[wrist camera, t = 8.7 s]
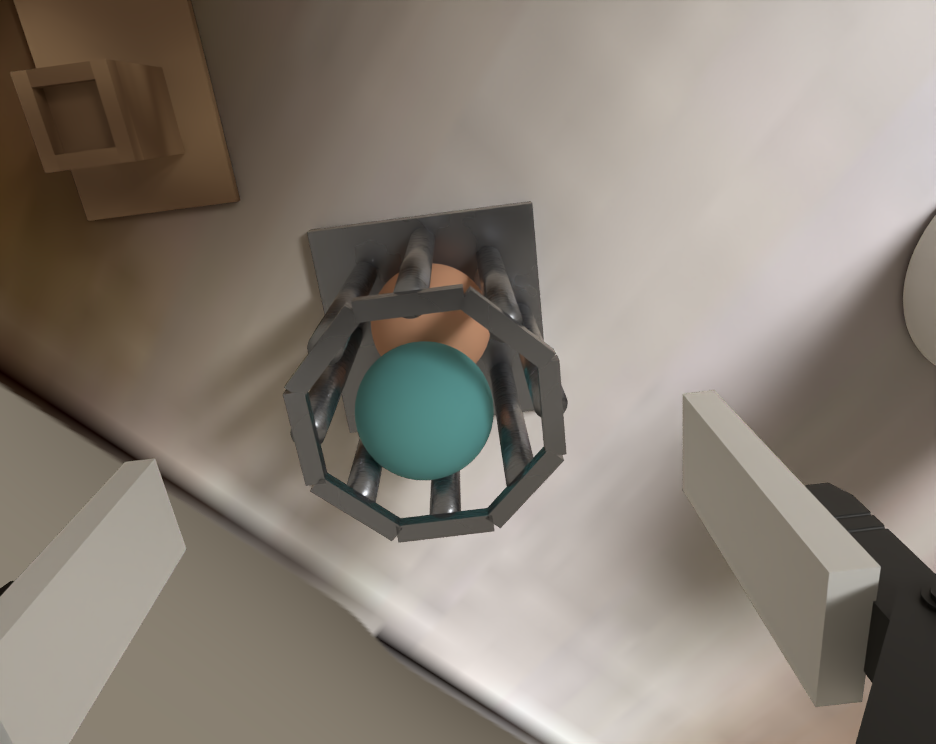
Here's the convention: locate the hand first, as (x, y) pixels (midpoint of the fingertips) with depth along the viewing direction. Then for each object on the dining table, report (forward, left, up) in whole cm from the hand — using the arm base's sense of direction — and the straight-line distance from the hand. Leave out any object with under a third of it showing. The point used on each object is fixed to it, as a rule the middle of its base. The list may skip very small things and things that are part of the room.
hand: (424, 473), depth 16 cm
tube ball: (-1, 0, -10) cm, 10 cm away
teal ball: (+1, 0, -6) cm, 6 cm away
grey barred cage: (0, 0, -13) cm, 13 cm away
